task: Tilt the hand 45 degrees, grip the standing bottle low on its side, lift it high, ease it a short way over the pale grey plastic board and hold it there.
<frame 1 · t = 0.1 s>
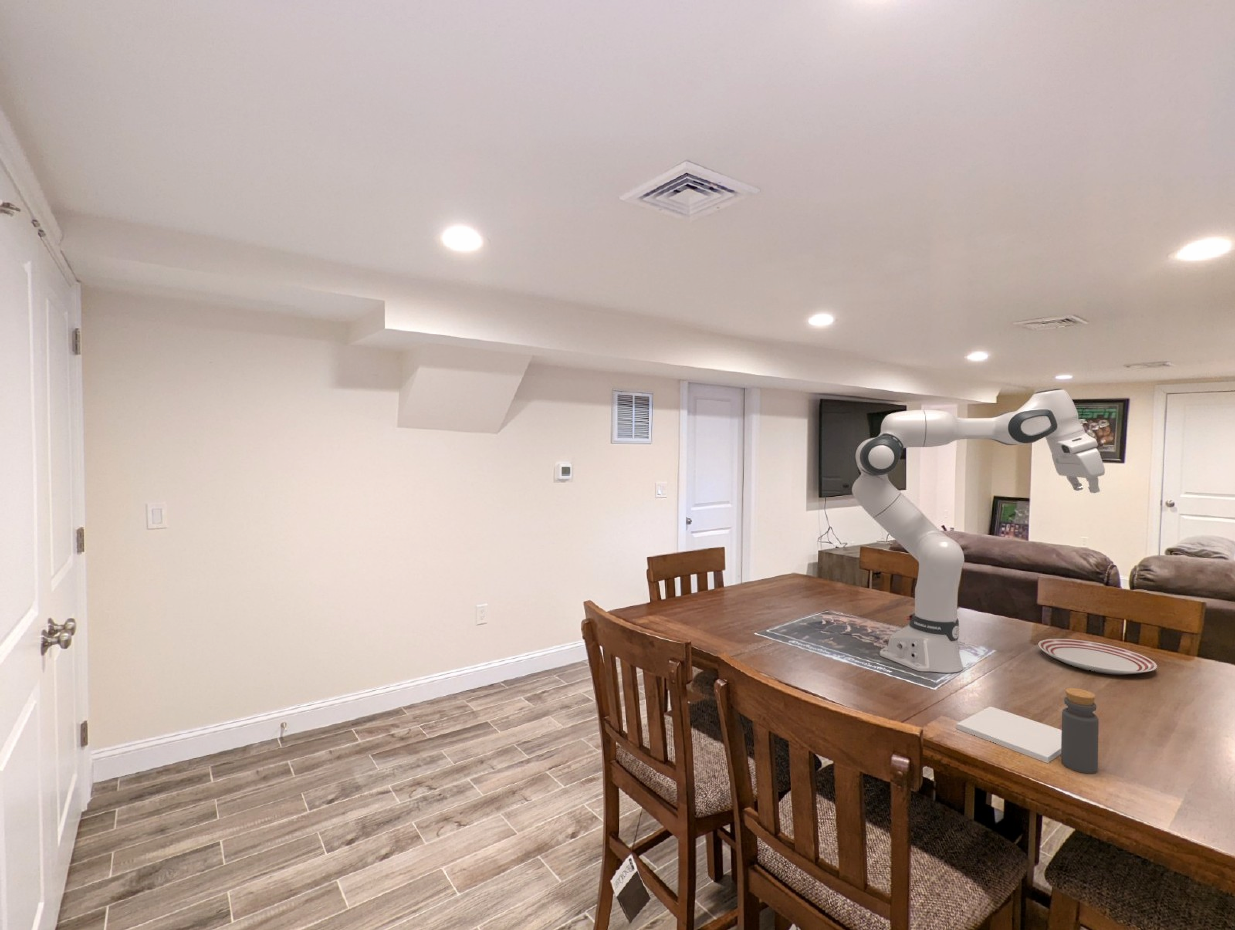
hand: (1086, 491, 164), 52 cm above the table, tool tilted 20°, fingers open, 8 cm apart
bottle: (1079, 767, 120), on the table
grey board: (1016, 734, 133), on the table
dinner plate: (1094, 664, 176), on the table
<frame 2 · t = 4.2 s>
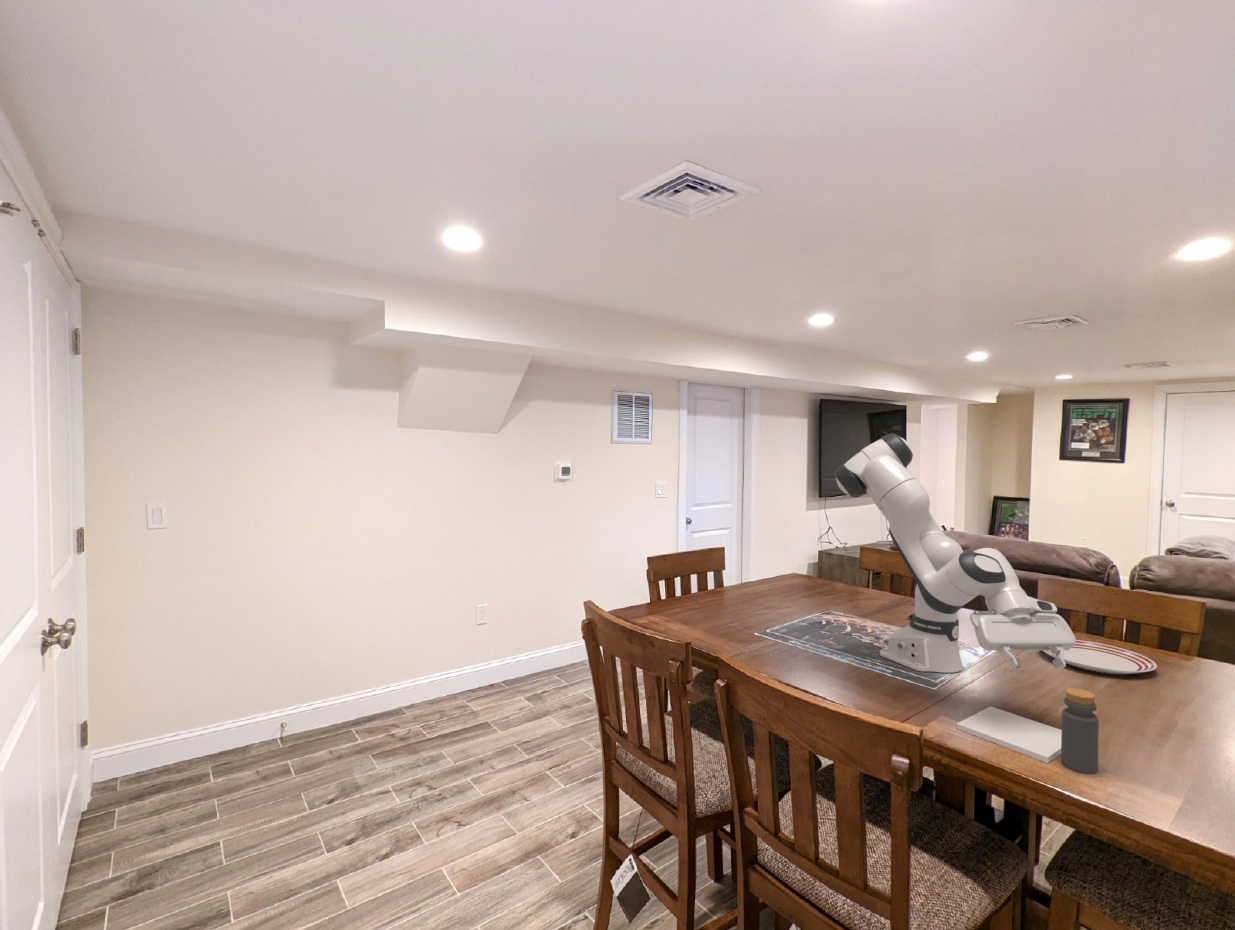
hand: (1039, 667, 131), 16 cm above the table, tool tilted 45°, fingers open, 8 cm apart
nothing on the table moved.
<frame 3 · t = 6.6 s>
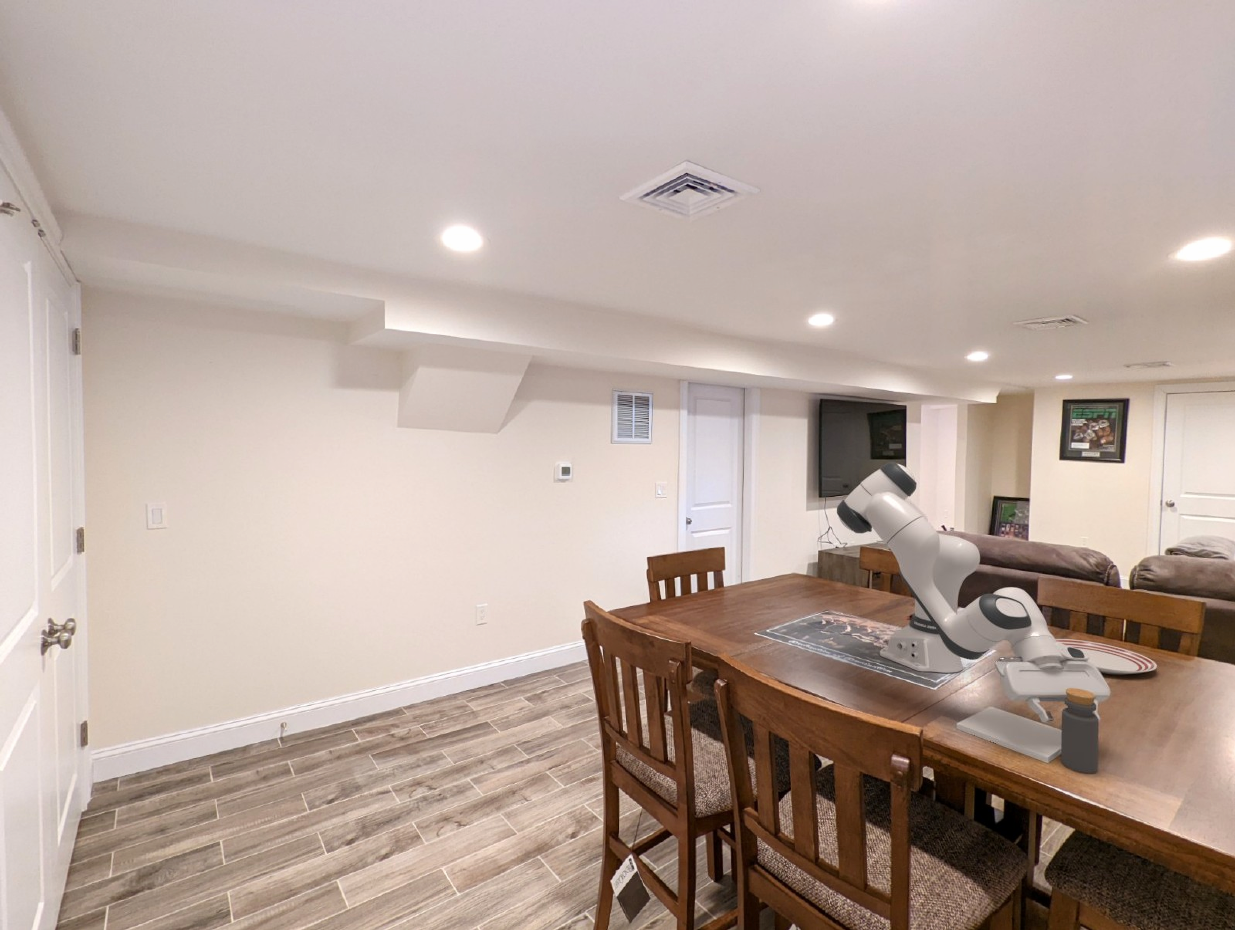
hand: (1071, 721, 121), 8 cm above the table, tool tilted 45°, fingers open, 8 cm apart
nothing on the table moved.
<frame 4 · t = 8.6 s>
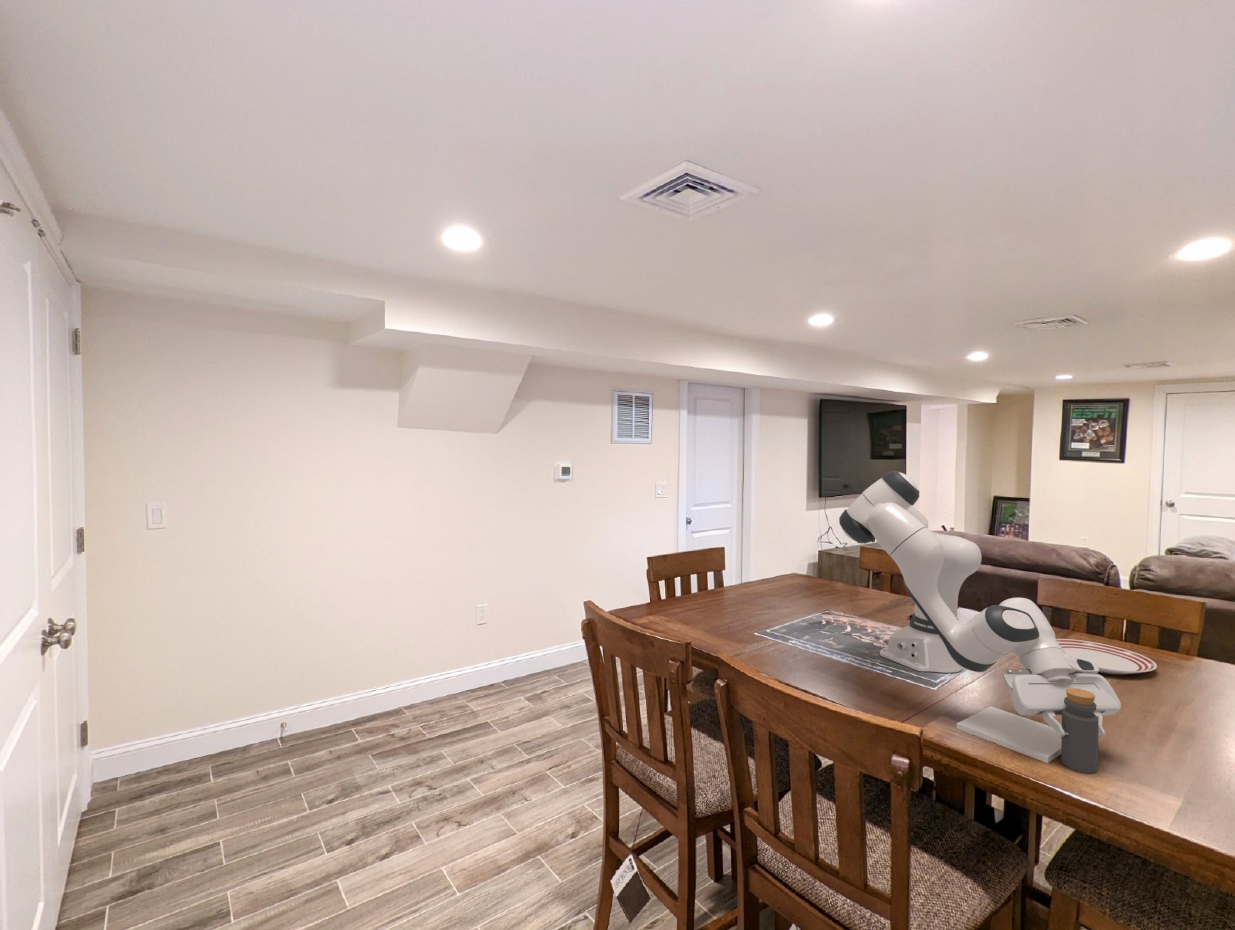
hand: (1082, 736, 119), 6 cm above the table, tool tilted 45°, fingers closed on bottle, 6 cm apart
bottle: (1079, 766, 120), on the table, touching gripper
everything else where it was.
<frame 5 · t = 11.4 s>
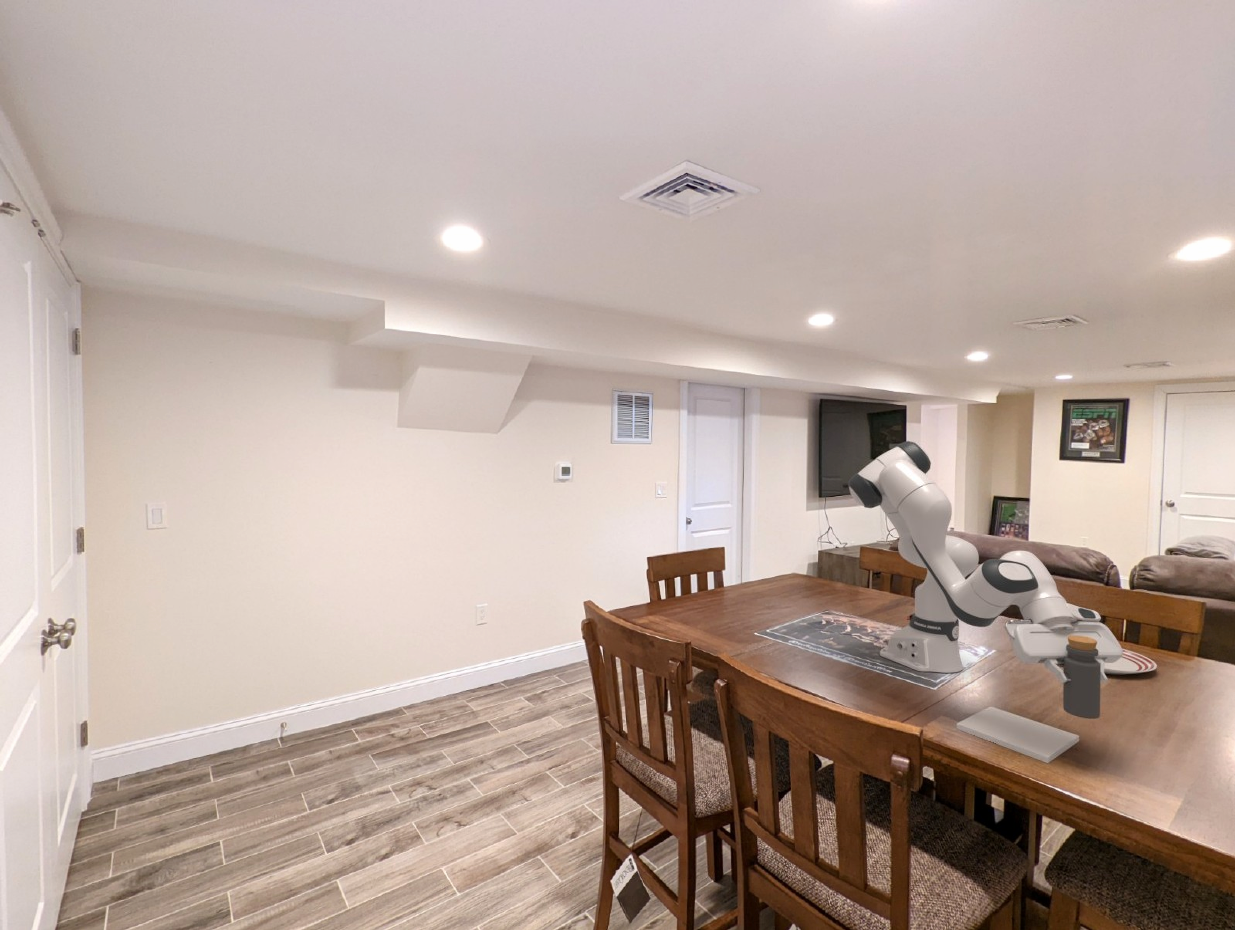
hand: (1084, 682, 118), 17 cm above the table, tool tilted 45°, fingers closed on bottle, 6 cm apart
bottle: (1081, 713, 119), point 11 cm above the table, touching gripper
everything else where it was.
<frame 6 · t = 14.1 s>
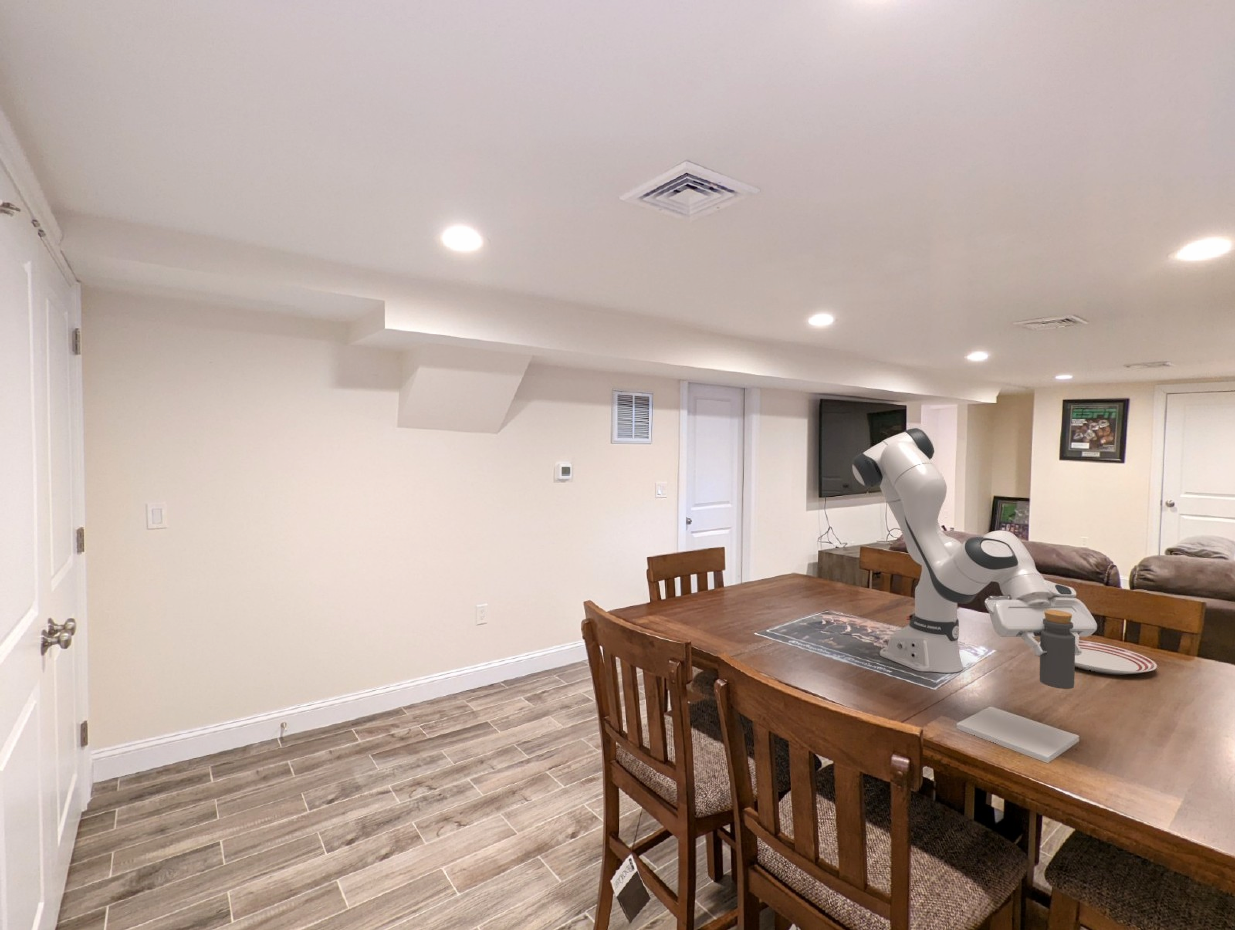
hand: (1059, 654, 123), 21 cm above the table, tool tilted 45°, fingers closed on bottle, 6 cm apart
bottle: (1056, 684, 124), point 15 cm above the table, touching gripper
everything else where it was.
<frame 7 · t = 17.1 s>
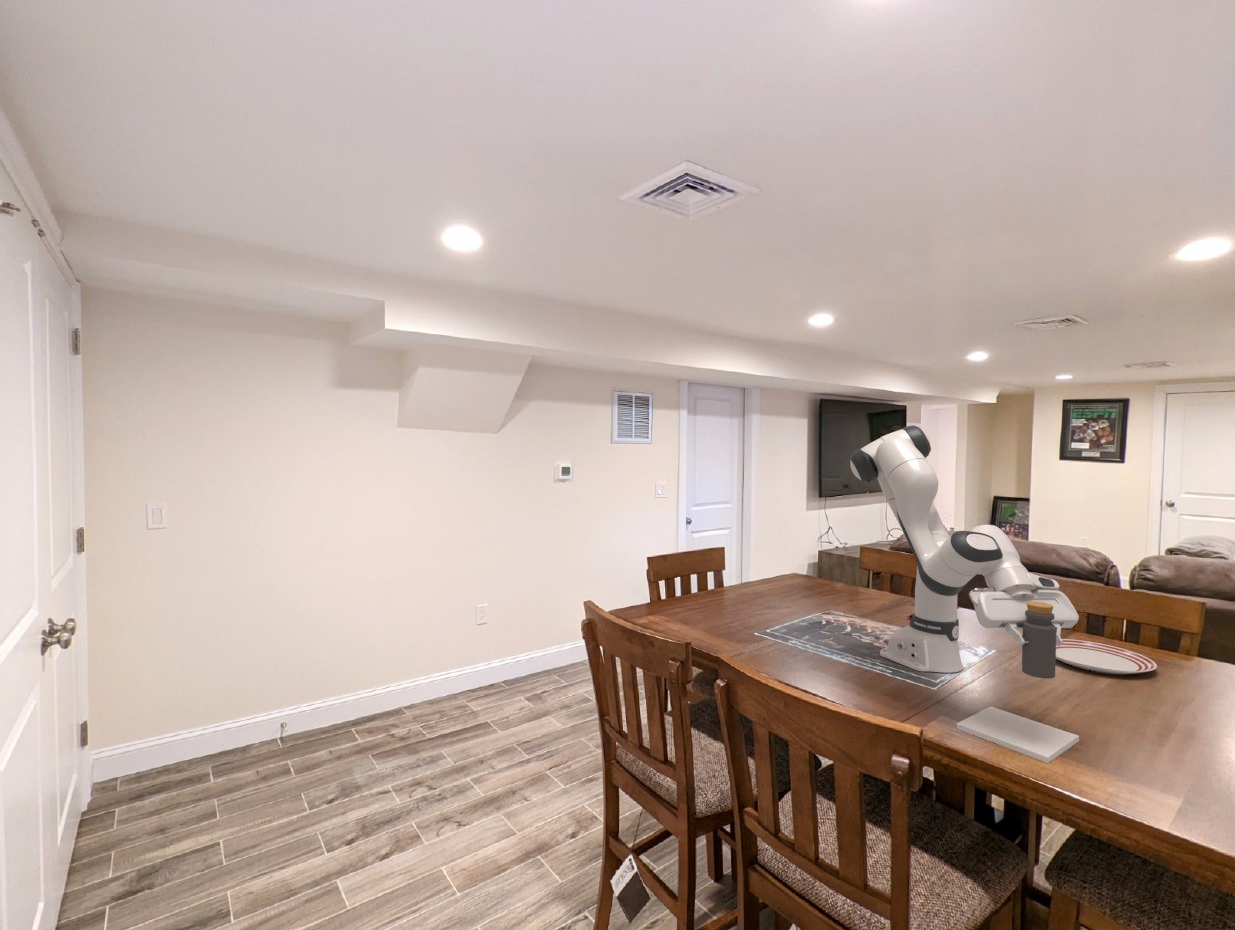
hand: (1041, 644, 126), 22 cm above the table, tool tilted 45°, fingers closed on bottle, 6 cm apart
bottle: (1038, 674, 127), point 16 cm above the table, touching gripper
everything else where it was.
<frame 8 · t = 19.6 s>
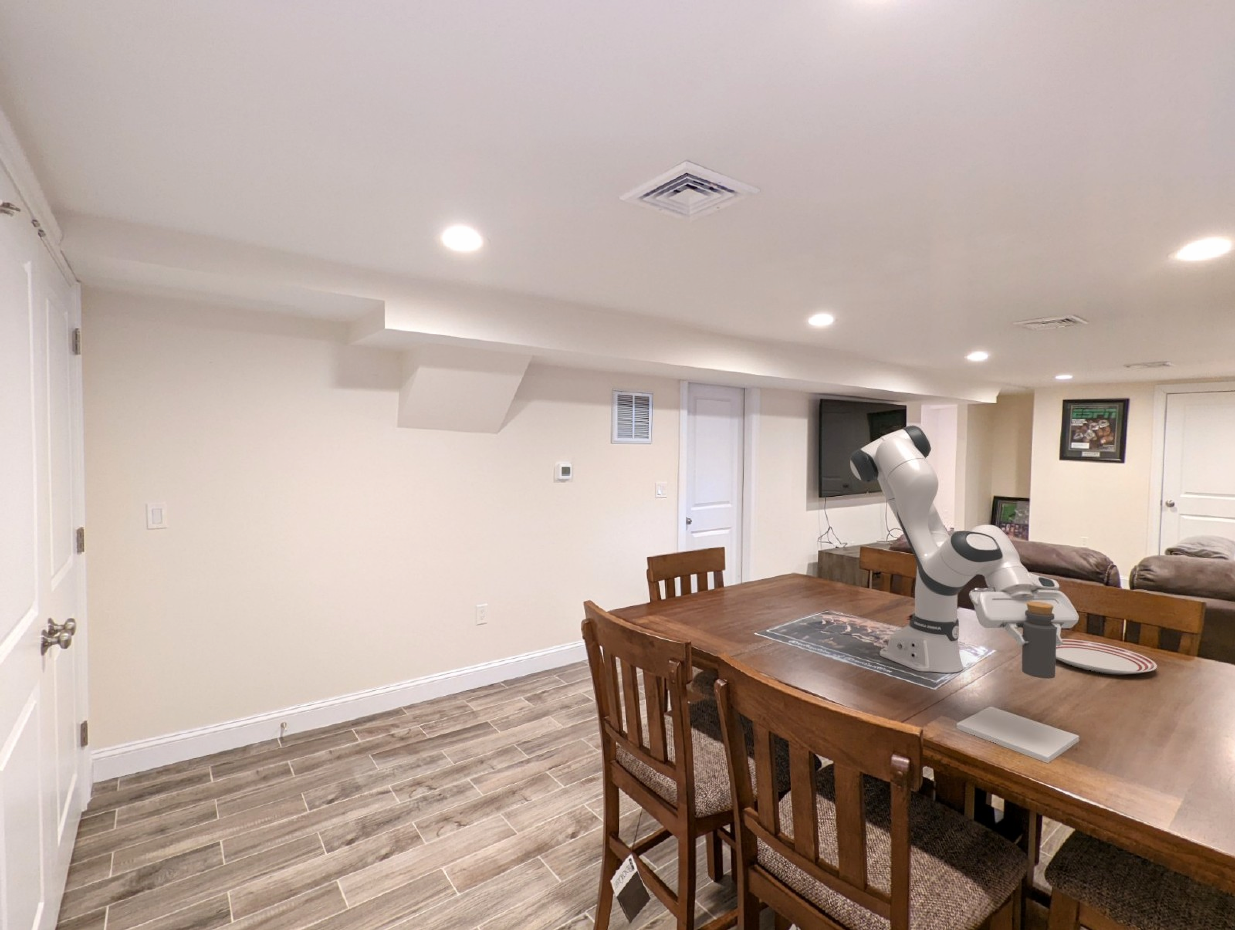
hand: (1041, 644, 126), 22 cm above the table, tool tilted 45°, fingers closed on bottle, 6 cm apart
bottle: (1038, 674, 127), point 16 cm above the table, touching gripper
everything else where it was.
at the end: the gripper is holding bottle; bottle inside the target area (0.2 cm from its centre), point 15.7 cm above the table; bottle tilted 1° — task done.
